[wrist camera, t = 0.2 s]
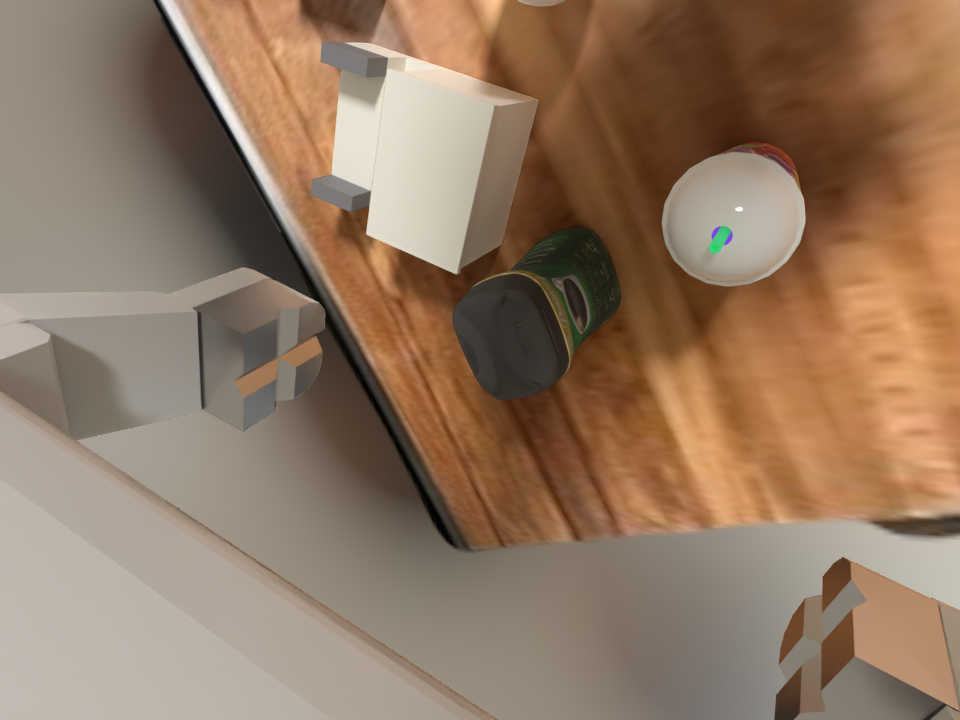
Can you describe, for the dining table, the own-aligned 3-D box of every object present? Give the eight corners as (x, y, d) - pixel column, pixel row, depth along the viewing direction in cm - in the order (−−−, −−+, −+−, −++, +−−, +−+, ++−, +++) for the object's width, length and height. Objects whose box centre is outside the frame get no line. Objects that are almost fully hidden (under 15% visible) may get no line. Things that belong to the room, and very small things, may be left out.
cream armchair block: (369, 40, 59) (301, 39, 52) (541, 97, 54) (494, 105, 46) (353, 184, 67) (292, 201, 59) (502, 247, 62) (456, 274, 54)
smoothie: (706, 244, 53) (652, 327, 37) (689, 145, 50) (624, 188, 34) (816, 225, 48) (809, 310, 32) (804, 115, 46) (791, 150, 30)
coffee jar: (525, 242, 60) (427, 303, 46) (598, 215, 56) (516, 274, 41) (560, 330, 63) (477, 417, 48) (633, 312, 58) (566, 400, 43)
